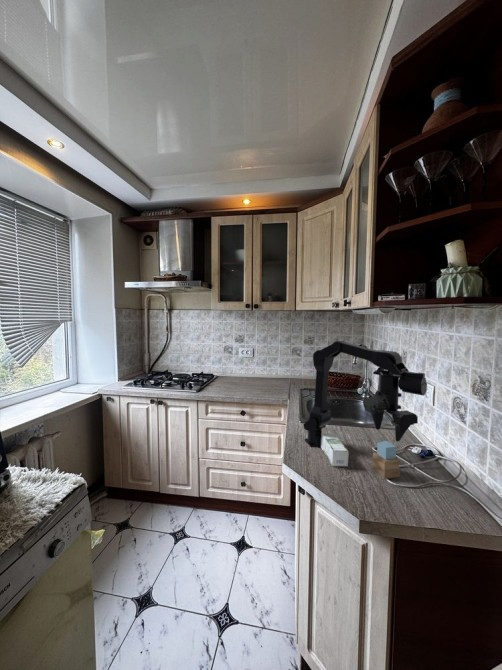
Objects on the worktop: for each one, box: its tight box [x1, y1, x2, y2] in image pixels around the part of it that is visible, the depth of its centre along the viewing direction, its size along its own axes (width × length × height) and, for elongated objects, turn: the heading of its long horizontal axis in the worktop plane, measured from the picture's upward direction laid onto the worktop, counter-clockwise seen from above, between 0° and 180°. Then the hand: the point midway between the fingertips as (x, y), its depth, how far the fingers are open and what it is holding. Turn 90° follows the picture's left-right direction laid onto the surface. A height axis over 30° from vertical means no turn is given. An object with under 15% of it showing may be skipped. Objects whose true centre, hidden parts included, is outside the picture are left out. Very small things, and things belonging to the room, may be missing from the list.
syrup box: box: [320, 433, 349, 467], centre depth 99 cm, size 6×6×14 cm
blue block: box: [376, 440, 397, 460], centre depth 89 cm, size 4×4×4 cm
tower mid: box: [372, 452, 400, 470], centre depth 89 cm, size 6×6×3 cm
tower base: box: [371, 460, 401, 480], centre depth 89 cm, size 6×6×3 cm
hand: (387, 434), depth 88 cm, fingers open, 9 cm apart
